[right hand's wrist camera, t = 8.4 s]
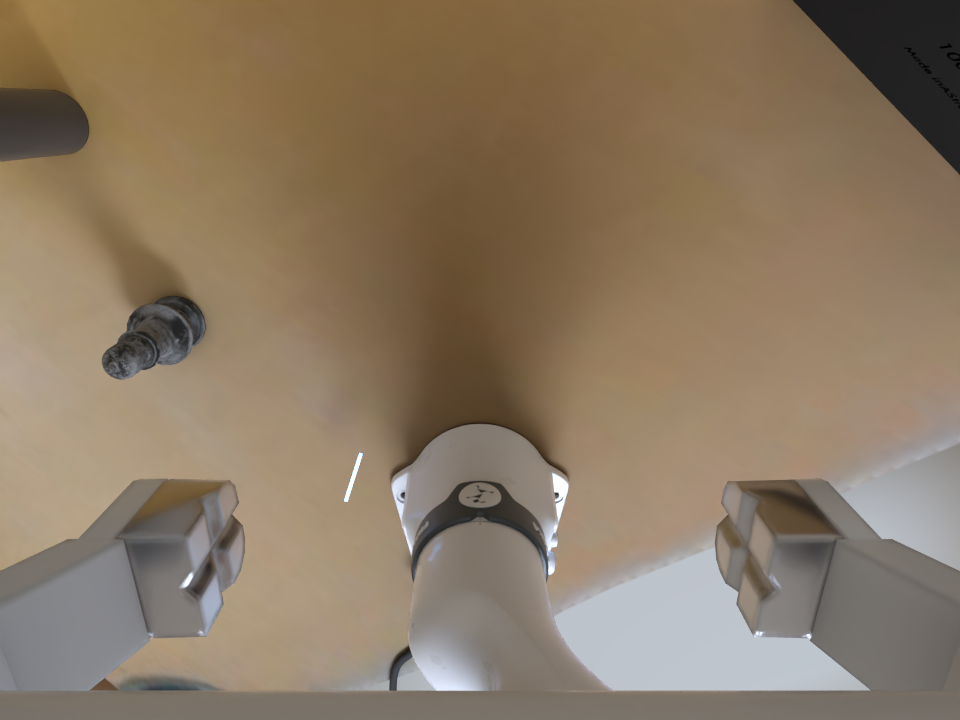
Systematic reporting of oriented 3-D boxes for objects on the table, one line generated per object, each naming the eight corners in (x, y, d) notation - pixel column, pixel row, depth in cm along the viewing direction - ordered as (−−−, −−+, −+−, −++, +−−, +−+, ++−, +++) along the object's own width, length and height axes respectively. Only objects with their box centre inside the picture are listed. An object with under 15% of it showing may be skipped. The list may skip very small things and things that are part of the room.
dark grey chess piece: (136, 328, 60) (57, 379, 49) (162, 280, 58) (87, 321, 47) (191, 362, 61) (127, 418, 50) (219, 316, 59) (159, 364, 48)
